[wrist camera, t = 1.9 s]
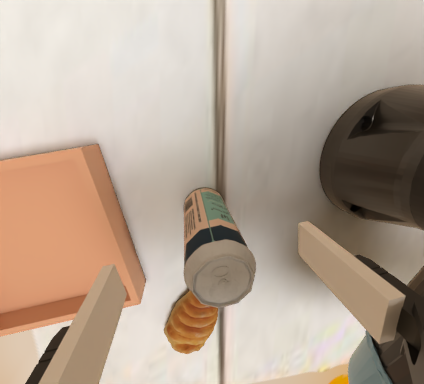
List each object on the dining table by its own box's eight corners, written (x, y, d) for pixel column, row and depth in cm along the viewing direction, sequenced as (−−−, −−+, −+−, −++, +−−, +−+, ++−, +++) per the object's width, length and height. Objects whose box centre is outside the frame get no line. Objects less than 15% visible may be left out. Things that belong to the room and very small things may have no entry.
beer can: (188, 227, 24) (193, 320, 12) (179, 191, 22) (174, 261, 11) (226, 218, 24) (264, 301, 13) (220, 182, 22) (257, 241, 11)
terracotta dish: (98, 143, 19) (80, 148, 16) (145, 280, 25) (140, 303, 22) (-98, 176, 18) (-161, 188, 15) (2, 312, 24) (-27, 342, 21)
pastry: (181, 276, 26) (182, 300, 23) (227, 284, 28) (234, 308, 24) (162, 326, 29) (160, 355, 25) (205, 331, 30) (209, 359, 27)
